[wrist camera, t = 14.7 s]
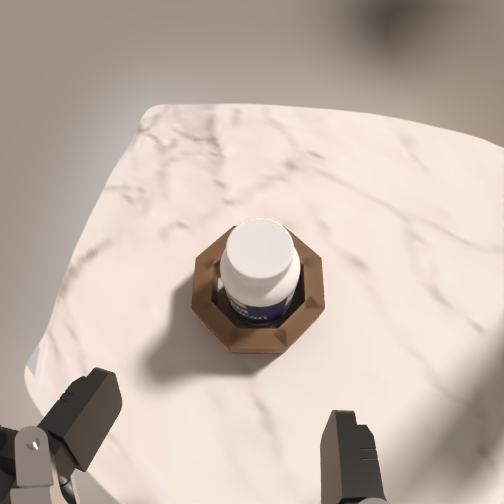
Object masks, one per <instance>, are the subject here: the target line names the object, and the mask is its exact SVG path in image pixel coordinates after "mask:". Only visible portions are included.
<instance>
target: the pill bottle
mask: <svg viewBox="0 0 504 504" xmlns="http://www.w3.org/2000/svg"><path fill="white" fill-rule="evenodd" d="M220 274H221V278H222V282H223V285H224V287H225V290H226V294H227V296H228V299H229V303H230V305H231V308H232V309H233V311H234V313H235V314H236V315H237V316H238V317H239V318H240V319H241V320H243V321H245V322H247V323H249V324H252V325H268V324H271V323H274V322H276V321H277V320H279V319H280V318H281V317H282V316H283V315H284V314H285V313H286V312H287V310H288V308H289V306H290V304H291V301H292V297H293V294H294V291H295V288H296V286H297V282H298V279H299V275H300V260H299V256H298V253H297V251H296V249H295V248H294V244H293V240H292V238H291V236H290V234H289V232H288V231H287V230H286V229H285V228H284V227H283V226H282V225H281V224H279V223H277V222H276V221H273V220H270V219H266V218H254V219H249V220H246V221H244V222H242V223H241V224H239V225H238V226H237V227H236V228H234V229H233V231H232V232H231V234H230V235H229V237H228V240H227V243H226V248H225V250H224V252H223V254H222V257H221V262H220Z"/></svg>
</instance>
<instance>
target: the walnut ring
mask: <svg viewBox="0 0 504 504" xmlns="http://www.w3.org/2000/svg"><path fill="white" fill-rule="evenodd" d="M236 227H237V226H233V227H232V228H231V229H229V230H228V231H227V232H226V233H225V234H224V235H222V236H221V237H220V238H219V239H218V240H216V241H215V242H214V243H213V244H212V245H211V246H209V247H208V248H207V249H206V250H205V251H204V252H202V253H201V254H200V255H199V256H198V257H197V258H196V262H195V273H194V284H193V296H192V309H193V310H194V312H195V313H196V314H197V315H198V317H199V318H200V319H201V320H202V321H203V322H204V323H205V324H206V325H207V326H208V327H209V329H210V330H211V331H212V332H213V333H214V334H215V335H216V336H217V337H218V338H219V339H220V340H221V341H222V342H223V343H224V344H225V345H226V346H227V347H228V349H229V350H230V351H231V352H233V353H284V352H285V351H286V350H287V349H288V348H289V347H290V346H291V345H292V344H293V343H294V342H295V341H296V340H297V339H298V338H299V337H300V336H301V335H302V334H303V333H304V332H305V331H306V330H307V329H308V328H309V327H310V326H311V325H312V324H313V323H314V322H315V320H316V319H317V318H318V317H319V316H320V314H321V313H322V312H323V310H324V309H325V302H324V287H323V273H322V261H321V257H320V256H318V255H317V254H316V253H315V252H314V251H313V250H311V249H310V248H309V247H308V246H307V245H306V244H304V243H303V242H302V241H301V240H300V239H299V238H297V237H296V236H295V235H294V234H293V233H291V232H290V231H289V230H288V229H287V228H285V227H284V226H283V227H284V228H285V229H286V230H287V231H288V232H289V234H290V236H291V238H292V240H293V244H294V248H295V249H296V251H297V253H298V256H299V260H300V275H299V280H300V305H301V306H300V307H299V308H298V309H297V310H296V311H295V312H294V313H293V314H292V315H291V316H290V317H289V318H288V319H287V320H286V321H285V322H284V323H283V324H282V325H281V326H280V327H279V328H237V327H236V326H235V325H234V324H233V323H232V322H231V321H230V320H229V319H228V318H227V317H226V316H225V315H224V314H223V313H222V312H221V311H220V310H219V309H218V307H217V292H218V278H219V277H220V276H221V274H220V262H221V257H222V254H223V252H224V250H225V248H226V243H227V240H228V237H229V235H230V234H231V232H232V231H233V229H234V228H236Z"/></svg>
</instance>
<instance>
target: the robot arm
mask: <svg viewBox="0 0 504 504" xmlns="http://www.w3.org/2000/svg"><path fill="white" fill-rule="evenodd" d="M121 407H122V397H121V394H120V390H119V386H118V382H117V378H116V375H115V373H113V372H110V371H107V370H104V369H101V368H98V367H96V368H94V369H93V370H92V371H91V372H90V374H89V375H88V376H87V377H85V376H82V377H80V378H79V379H77V380H75V381H74V382H72V383H71V385H70V386H69V387H68V388H67V389H66V391H65V393H63V394H62V396H61V397H60V400H58V401H57V402H56V403H55V404H54V406H53V407H52V408H51V410H50V411H49V412H48V413H47V415H46V416H45V417H44V419H43V420H42V421H41V423H40V424H39V425H38V426H37V427H35V426H28V427H25V428H23V429H21V430H20V431H17V430H12V429H8V428H4V427H2V426H1V425H0V504H80V501H79V497H78V493H77V489H76V485H75V481H74V477H73V474H72V473H73V471H74V470H75V468H77V469H79V470H81V471H83V472H86V470H87V468H88V467H89V465H90V463H91V461H92V460H93V458H94V456H95V454H96V453H97V451H98V449H99V447H100V446H101V444H102V442H103V440H104V439H105V437H106V435H107V434H108V432H109V430H110V428H111V427H112V425H113V423H114V422H115V420H116V418H117V417H118V415H119V413H120V411H121ZM375 449H376V446H375V441H374V436H373V434H372V433H371V431H370V430H369V428H368V427H367V426H366V425H357V423H356V417H355V413H354V411H343V410H333V411H332V412H331V415H330V417H329V420H328V422H327V425H326V427H325V430H324V432H323V435H322V438H321V445H320V457H321V504H390V503H388V502H387V500H386V499H385V496H384V493H383V486H382V480H381V474H380V468H379V462H378V460H377V451H376V450H375Z"/></svg>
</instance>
